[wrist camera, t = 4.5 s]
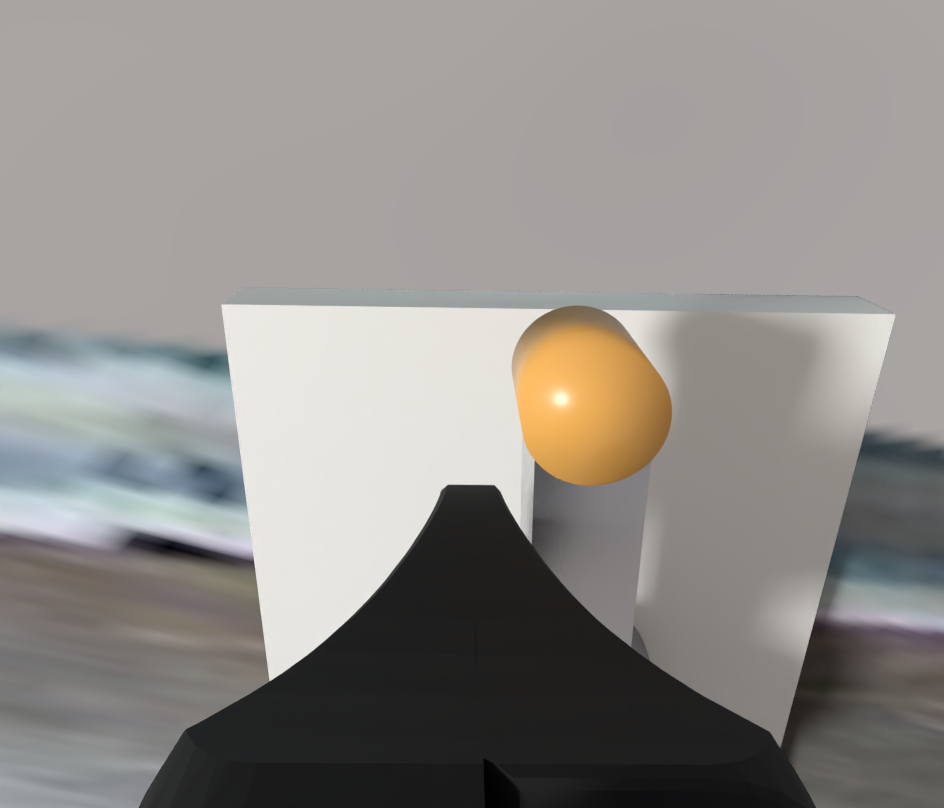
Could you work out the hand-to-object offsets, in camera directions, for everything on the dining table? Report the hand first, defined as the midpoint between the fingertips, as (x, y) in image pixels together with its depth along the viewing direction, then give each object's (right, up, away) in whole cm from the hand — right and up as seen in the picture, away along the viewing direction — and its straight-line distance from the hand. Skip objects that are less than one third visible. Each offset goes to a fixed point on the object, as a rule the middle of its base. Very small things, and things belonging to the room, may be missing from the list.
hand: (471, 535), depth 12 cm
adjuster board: (+2, -3, +7) cm, 8 cm away
